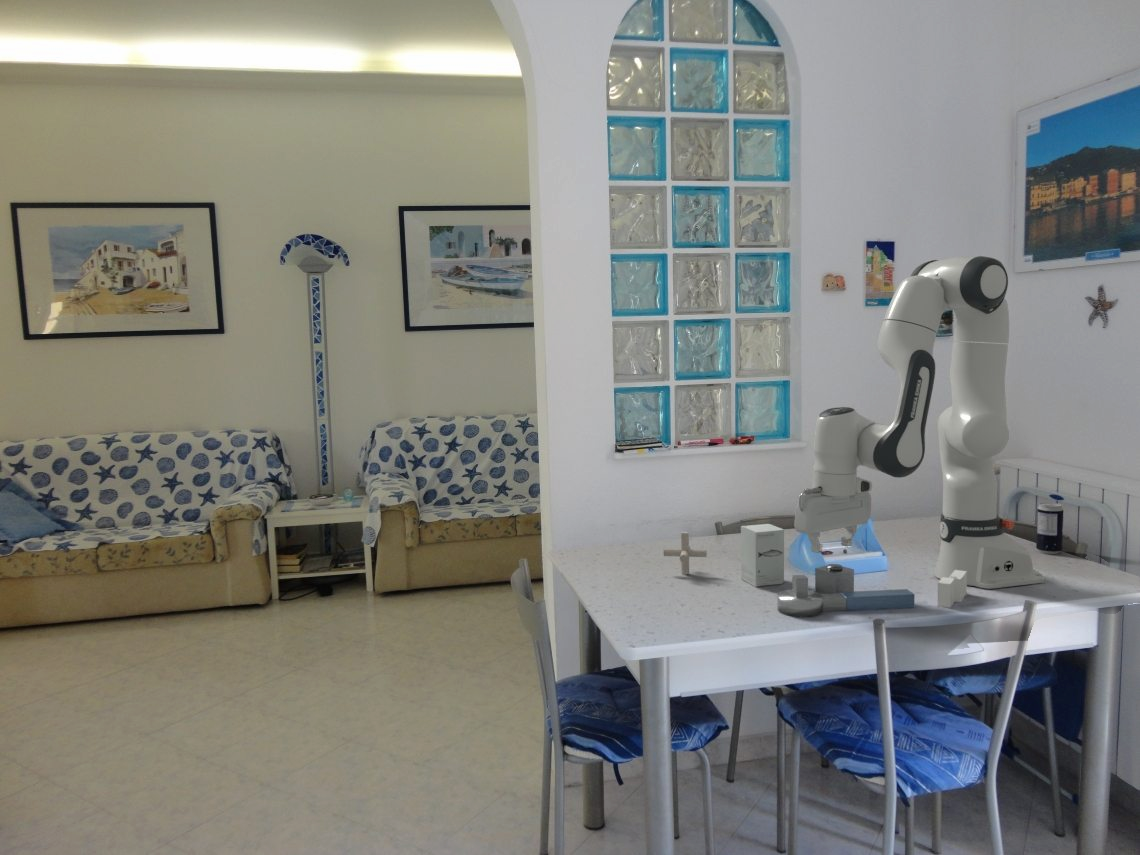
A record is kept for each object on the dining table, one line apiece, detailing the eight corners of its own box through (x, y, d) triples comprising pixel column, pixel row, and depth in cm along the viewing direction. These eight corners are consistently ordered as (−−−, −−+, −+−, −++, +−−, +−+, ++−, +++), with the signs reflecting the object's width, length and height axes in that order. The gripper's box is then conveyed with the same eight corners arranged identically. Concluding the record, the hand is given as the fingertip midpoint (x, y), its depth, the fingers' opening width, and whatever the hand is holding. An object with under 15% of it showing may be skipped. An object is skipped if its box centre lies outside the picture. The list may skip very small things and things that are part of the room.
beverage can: (1066, 554, 214) (1068, 506, 213) (1043, 555, 214) (1044, 507, 213) (1054, 548, 219) (1055, 501, 218) (1031, 549, 220) (1032, 502, 218)
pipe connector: (705, 580, 201) (705, 537, 200) (662, 579, 203) (661, 537, 202) (707, 568, 211) (707, 528, 210) (666, 567, 213) (665, 527, 212)
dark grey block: (832, 590, 190) (832, 561, 190) (853, 596, 186) (853, 566, 185) (815, 595, 187) (815, 565, 187) (836, 601, 183) (836, 571, 182)
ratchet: (900, 598, 184) (901, 565, 183) (920, 611, 175) (920, 577, 174) (772, 604, 182) (772, 571, 182) (785, 618, 173) (785, 583, 173)
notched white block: (959, 590, 190) (959, 564, 189) (999, 605, 179) (999, 578, 178) (900, 598, 185) (901, 572, 185) (938, 614, 175) (938, 586, 174)
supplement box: (755, 587, 194) (754, 532, 193) (740, 579, 202) (739, 525, 200) (785, 584, 196) (785, 529, 195) (769, 575, 203) (768, 522, 202)
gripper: (812, 492, 175) (809, 559, 177) (877, 482, 187) (874, 545, 188) (788, 487, 181) (786, 552, 182) (853, 478, 192) (851, 539, 193)
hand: (831, 548), depth 185 cm, fingers open, 8 cm apart
